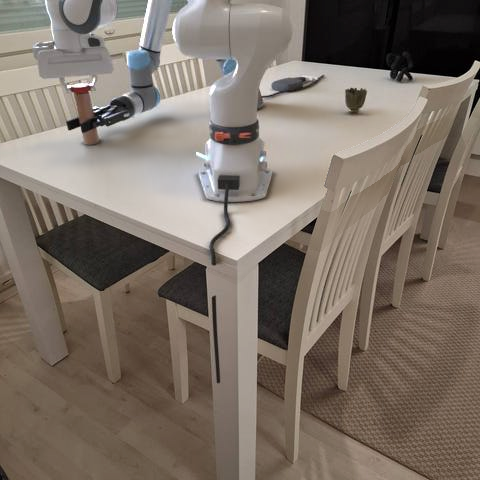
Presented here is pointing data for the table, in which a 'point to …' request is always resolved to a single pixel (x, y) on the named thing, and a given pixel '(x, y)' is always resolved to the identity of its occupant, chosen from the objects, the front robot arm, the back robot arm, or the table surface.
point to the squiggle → (399, 66)
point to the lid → (80, 88)
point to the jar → (86, 116)
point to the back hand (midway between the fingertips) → (74, 127)
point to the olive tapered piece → (355, 99)
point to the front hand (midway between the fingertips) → (81, 91)
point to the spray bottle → (291, 83)
